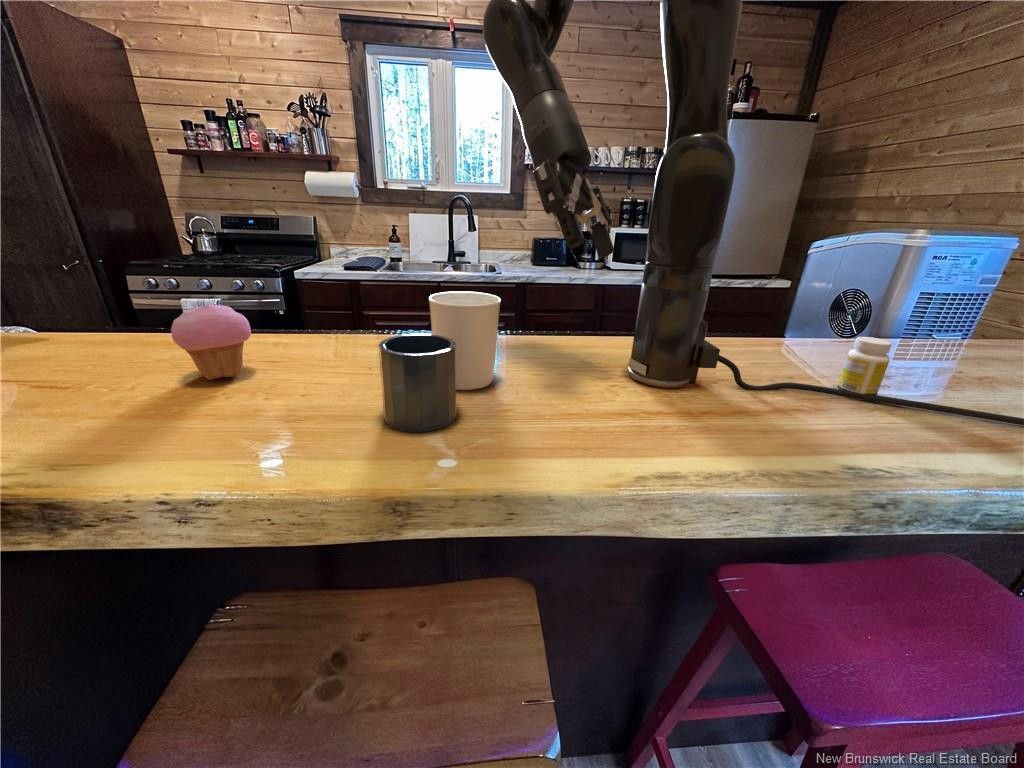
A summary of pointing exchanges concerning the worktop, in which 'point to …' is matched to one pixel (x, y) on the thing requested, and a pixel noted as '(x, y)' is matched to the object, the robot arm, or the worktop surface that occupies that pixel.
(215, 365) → the cupcake
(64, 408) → the worktop surface
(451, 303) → the cream tumbler
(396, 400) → the cup
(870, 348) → the supplement bottle
